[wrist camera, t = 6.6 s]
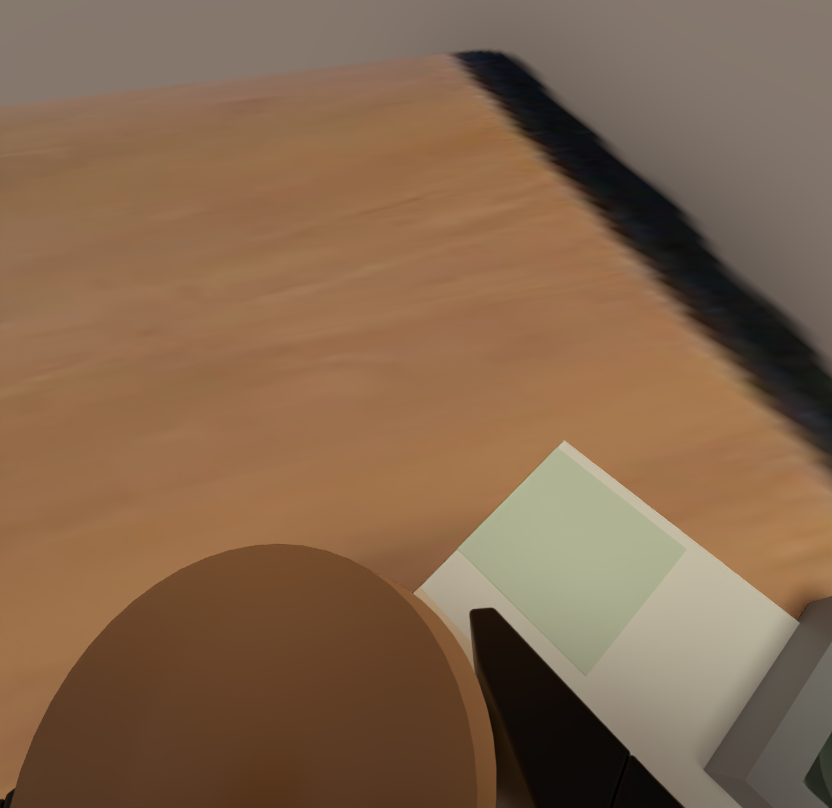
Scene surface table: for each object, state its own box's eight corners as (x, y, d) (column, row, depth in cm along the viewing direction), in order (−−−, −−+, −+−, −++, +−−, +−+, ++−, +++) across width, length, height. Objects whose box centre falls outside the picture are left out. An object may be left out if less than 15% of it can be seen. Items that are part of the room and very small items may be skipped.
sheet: (1046, 781, 15) (1165, 796, 13) (781, 1416, 11) (885, 1647, 8) (577, 428, 22) (592, 392, 20) (294, 716, 18) (266, 718, 15)
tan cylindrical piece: (505, 730, 13) (626, 796, 3) (403, 856, 12) (120, 1515, 2) (409, 622, 15) (294, 442, 5) (310, 724, 14) (-102, 764, 4)
